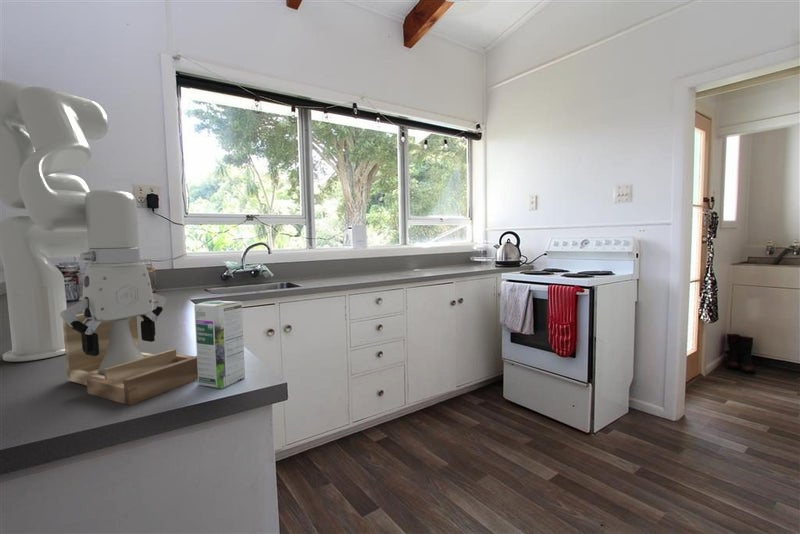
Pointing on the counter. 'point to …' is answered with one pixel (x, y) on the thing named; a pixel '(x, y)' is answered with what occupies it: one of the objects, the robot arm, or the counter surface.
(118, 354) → the flask
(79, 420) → the counter surface
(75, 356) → the wooden tablet stand
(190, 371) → the bay
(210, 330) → the syrup box
